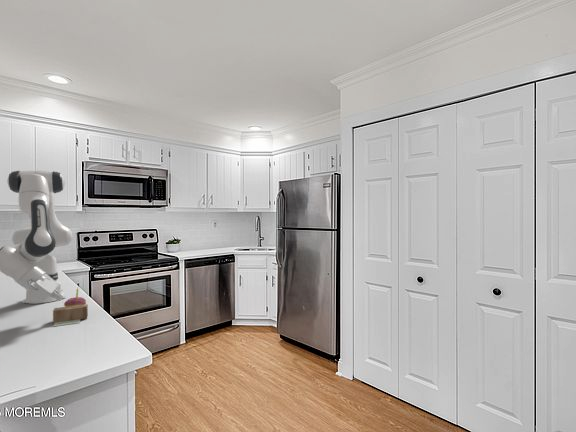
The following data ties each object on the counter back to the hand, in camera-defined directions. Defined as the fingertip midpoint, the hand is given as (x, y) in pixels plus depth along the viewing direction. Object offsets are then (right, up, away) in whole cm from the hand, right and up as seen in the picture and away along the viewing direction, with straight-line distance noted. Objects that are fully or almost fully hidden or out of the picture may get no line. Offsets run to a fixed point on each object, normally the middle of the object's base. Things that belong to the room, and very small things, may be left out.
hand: (61, 298), depth 140 cm
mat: (+2, -9, +1) cm, 10 cm away
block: (-2, -7, -1) cm, 7 cm away
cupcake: (-2, -10, +12) cm, 15 cm away
